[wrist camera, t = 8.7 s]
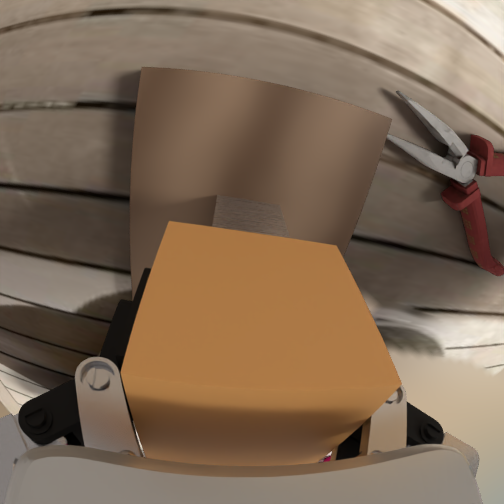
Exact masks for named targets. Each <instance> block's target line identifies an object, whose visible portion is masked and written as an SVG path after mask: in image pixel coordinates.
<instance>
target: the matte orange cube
mask: <svg viewBox="0 0 504 504" xmlns="http://www.w3.org/2000/svg"><path fill="white" fill-rule="evenodd" d="M121 377H122V381H123V385H124V389H125V392H126V396H127V400H128V403H129V407H130V410H131V414H132V417H133V420H134V423H135V427H136V430H137V433H138V436H139V439H140V442H141V445H142V447H143V450H144V453H145V456H146V458H151V459H158V460H166V461H173V462H182V463H192V464H205V465H222V466H279V465H296V464H308V463H317V462H318V461H320V460H321V459H322V458H323V457H325V456H326V455H327V454H328V453H330V452H331V451H332V450H333V449H335V448H336V447H337V446H338V445H339V444H341V443H342V442H343V441H344V440H345V439H346V438H348V437H349V436H350V435H351V434H352V433H353V432H354V431H355V430H357V429H358V428H359V427H360V426H361V425H362V424H363V423H364V422H365V421H366V420H367V419H368V418H369V417H370V416H372V415H373V414H374V413H375V412H376V411H377V410H378V409H379V408H380V407H381V406H382V405H383V404H384V403H385V402H386V401H387V400H388V399H389V397H390V396H391V395H392V394H393V393H394V392H395V391H396V390H397V389H398V388H399V387H400V386H401V385H402V383H401V381H400V378H399V376H398V374H397V371H396V369H395V366H394V364H393V362H392V359H391V357H390V355H389V352H388V350H387V348H386V346H385V343H384V341H383V339H382V337H381V334H380V332H379V330H378V328H377V326H376V324H375V321H374V319H373V317H372V315H371V313H370V311H369V309H368V307H367V305H366V302H365V300H364V298H363V296H362V294H361V292H360V290H359V288H358V286H357V284H356V282H355V280H354V278H353V276H352V274H351V272H350V270H349V268H348V267H347V265H346V263H345V261H344V259H343V257H342V255H341V253H340V251H339V249H338V247H337V246H336V245H330V244H324V243H318V242H311V241H305V240H298V239H292V238H285V237H279V236H272V235H265V234H259V233H252V232H245V231H238V230H231V229H224V228H217V227H210V226H203V225H196V224H188V223H181V222H173V221H169V223H168V225H167V228H166V230H165V233H164V236H163V238H162V241H161V244H160V247H159V249H158V252H157V255H156V258H155V261H154V263H153V266H152V269H151V272H150V275H149V278H148V281H147V284H146V287H145V290H144V293H143V296H142V299H141V303H140V306H139V309H138V312H137V315H136V319H135V322H134V325H133V329H132V332H131V336H130V339H129V343H128V346H127V350H126V354H125V357H124V361H123V365H122V369H121Z"/></svg>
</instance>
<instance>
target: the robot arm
mask: <svg viewBox="0 0 504 504" xmlns="http://www.w3.org/2000/svg"><path fill="white" fill-rule="evenodd" d="M151 269H152V268H145V269H144V271H143V274H142V276H141V279H140V282H139V285H138V287H137V290H136V293H135V296H134V299H133V301H127V300H120V301H119V303H118V306H117V308H116V311H115V314H114V316H113V319H112V322H111V325H110V327H109V330H108V333H107V336H106V339H105V342H104V344H103V347H102V350H101V353H100V356H99V357H92V358H88V359H86V360H84V361H83V362H82V363H81V364H80V365H79V366H78V368H77V370H76V373H75V379H73V380H71V381H69V382H67V383H65V384H63V385H61V386H59V387H57V388H54V389H52V390H50V391H48V392H46V393H44V394H42V395H40V396H38V397H36V398H34V399H31V400H29V401H28V402H26V403H25V404H24V405H23V406H22V407H21V408H20V411H19V414H16V415H14V416H13V415H12V414H9V415H7V416H5V417H3V418H0V504H483V503H482V499H481V495H480V492H479V488H478V485H477V482H476V479H475V476H476V472H477V469H478V465H479V455H478V453H477V451H476V450H475V449H474V448H473V447H471V446H469V445H468V444H466V443H464V442H462V441H461V440H459V439H457V438H456V437H454V436H452V435H451V434H449V433H447V432H446V433H443V429H442V427H441V425H440V424H439V423H438V422H437V421H436V420H434V419H433V418H431V417H430V416H428V415H427V414H425V413H423V412H422V411H420V410H419V409H417V408H416V407H414V406H413V405H411V404H410V403H408V402H407V399H406V391H405V389H404V387H403V386H402V385H401V386H400V387H399V388H398V389H397V390H396V391H395V392H394V393H393V394H392V395H391V396H390V397H389V399H388V400H387V401H386V402H385V403H384V404H383V405H382V406H381V407H380V408H379V409H378V410H377V411H376V412H375V413H374V414H373V415H372V416H370V417H369V418H368V419H367V420H366V421H365V422H364V423H363V424H362V425H361V426H360V427H359V428H358V429H357V430H355V431H354V432H353V433H352V434H351V435H350V436H349V437H348V438H346V439H345V440H344V441H343V442H342V443H341V444H339V445H338V446H337V447H336V448H335V449H333V450H332V454H331V458H330V461H327V462H318V463H308V464H296V465H279V466H222V465H205V464H192V463H182V462H173V461H166V460H158V459H151V458H145V457H143V455H142V451H141V448H140V445H139V442H138V438H137V435H136V431H135V428H134V424H133V417H132V414H131V410H130V407H129V403H128V400H127V396H126V392H125V389H124V385H123V381H122V377H121V369H122V365H123V361H124V357H125V354H126V350H127V346H128V343H129V339H130V336H131V332H132V329H133V325H134V322H135V319H136V315H137V312H138V309H139V306H140V303H141V299H142V296H143V293H144V290H145V287H146V284H147V281H148V278H149V275H150V272H151Z"/></svg>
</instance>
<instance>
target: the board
mask: <svg viewBox="0 0 504 504" xmlns="http://www.w3.org/2000/svg"><path fill="white" fill-rule="evenodd" d="M391 121H392V119H391V118H388V117H385V116H383V115H380V114H377V113H375V112H372V111H369V110H366V109H363V108H361V107H358V106H355V105H352V104H349V103H345V102H342V101H339V100H336V99H333V98H329V97H326V96H322V95H319V94H315V93H311V92H308V91H304V90H300V89H296V88H292V87H288V86H283V85H279V84H274V83H270V82H265V81H260V80H255V79H249V78H243V77H238V76H231V75H225V74H218V73H210V72H202V71H193V70H183V69H171V68H154V67H142V69H141V75H140V82H139V89H138V96H137V105H136V113H135V123H134V134H133V146H132V161H131V181H130V262H131V282H132V297H133V299H134V296H135V293H136V290H137V287H138V285H139V282H140V279H141V276H142V274H143V271H144V269H145V268H152V266H153V263H154V261H155V258H156V255H157V252H158V249H159V247H160V244H161V241H162V238H163V236H164V233H165V230H166V228H167V225H168V223H169V221H173V222H181V223H188V224H196V225H203V226H210V227H217V228H224V229H231V230H238V231H245V232H252V233H259V234H265V235H272V236H279V237H285V238H292V239H298V240H305V241H311V242H318V243H324V244H330V245H336V246H337V247H338V249H339V251H340V253H341V255H342V257H343V256H344V254H345V251H346V249H347V247H348V244H349V242H350V239H351V237H352V234H353V232H354V229H355V226H356V224H357V221H358V219H359V216H360V213H361V211H362V208H363V205H364V203H365V200H366V197H367V194H368V192H369V189H370V186H371V183H372V180H373V177H374V175H375V172H376V169H377V166H378V163H379V160H380V157H381V154H382V150H383V147H384V144H385V141H386V138H387V135H388V131H389V128H390V125H391Z"/></svg>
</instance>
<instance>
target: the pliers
mask: <svg viewBox="0 0 504 504" xmlns="http://www.w3.org/2000/svg"><path fill="white" fill-rule="evenodd" d="M396 93H397V94H398V95H399V96H400V97H401V98H402V99H403V101H404V102H405V103H406V104H407V105H408V106H409V107H410V109H411V110H412V111H413V112H414V113H415V114H416V116H417V117H418V118H419V119H420V120H421V122H422V123H423V124H424V125H425V126H426V128H427V129H428V130H429V131H430V132H431V134H432V135H433V136H434V137H435V138H436V140H437V141H439V142H442V143H444V144H446V145H448V146H449V150H448V152H447V155H446V158H445V157H444V158H442V157H440V156H439V155H437V154H435V153H433V152H432V151H429V150H427V149H425V148H422V147H420V146H418V145H415V144H413V143H410V142H408V141H406V140H403V139H400V138H398V137H395V136H393V135H390V134H388V135H387V139H389V140H390V141H391V142H393V143H394V144H396V145H397V146H399V147H400V148H401V149H403V150H404V151H406V152H407V153H408V154H410V155H411V156H412V157H414V158H415V159H416V160H418V161H419V162H420V163H422V164H423V165H425V166H427V167H429V168H431V169H433V170H435V171H438V172H440V173H442V174H444V175H446V176H448V177H451V179H450V181H451V184H452V185H451V186H450V187H448V188H447V189H446V190H444V191H443V192H442V193H441V196H442V198H443V201H444V202H445V203H447V204H448V205H449V206H450V207H451V208H453V209H454V210H460V212H461V216H462V219H463V223H464V227H465V231H466V236H467V240H468V245H469V248H470V251H471V254H472V256H473V258H474V260H475V262H476V263H477V264H478V265H479V267H481V268H482V269H484V270H486V271H488V272H490V273H492V274H494V275H496V276H501V275H503V274H504V266H503V265H502V264H501V263H500V262H499V261H498V260H496V259H495V258H493V257H492V256H491V253H490V248H489V241H488V234H487V228H486V222H485V217H484V212H483V207H482V202H481V197H480V196H481V194H480V190H479V188H478V185H477V182H476V181H475V180H473V178H474V176H475V173H476V174H477V175H479V176H504V153H494V148H493V145H492V143H491V142H490V141H488V140H486V139H484V138H482V137H480V136H477V135H471V141H470V151H469V150H468V149H467V147H466V146H465V144H464V143H463V142H462V141H461V139H460V138H459V137H458V136H457V135H456V133H455V132H454V131H453V130H452V129H451V128H450V127H449V126H447V125H446V124H445V123H444V122H442V121H441V120H440V119H438V118H437V117H436V116H434V115H433V114H432V113H430V112H429V111H428V110H426V109H425V108H423V107H422V106H420V105H419V104H418V103H416V102H415V101H413V100H412V99H410V98H409V97H407V96H406V95H404V94H403V93H401V92H400V91H396Z"/></svg>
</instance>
